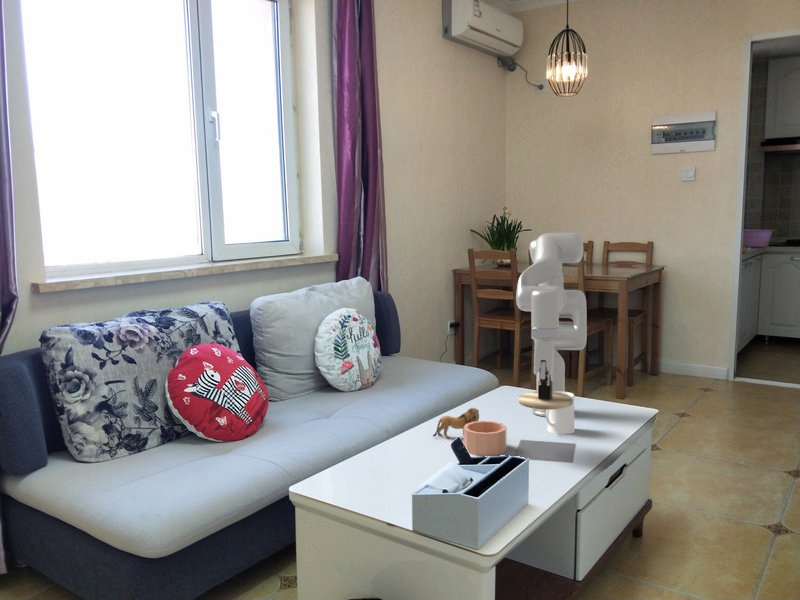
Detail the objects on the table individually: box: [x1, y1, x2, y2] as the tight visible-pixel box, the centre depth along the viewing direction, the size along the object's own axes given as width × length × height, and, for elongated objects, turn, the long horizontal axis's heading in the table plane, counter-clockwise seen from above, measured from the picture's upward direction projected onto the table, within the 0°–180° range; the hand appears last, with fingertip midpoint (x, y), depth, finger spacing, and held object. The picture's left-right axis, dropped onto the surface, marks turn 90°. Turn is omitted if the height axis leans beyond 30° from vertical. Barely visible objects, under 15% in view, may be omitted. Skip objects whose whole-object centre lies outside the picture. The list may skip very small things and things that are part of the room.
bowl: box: [463, 420, 508, 457], centre depth 196 cm, size 12×12×7 cm
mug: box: [545, 391, 576, 435], centre depth 210 cm, size 12×8×12 cm
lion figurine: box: [432, 407, 480, 440], centre depth 209 cm, size 15×5×9 cm, turn 94°
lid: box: [518, 380, 572, 410], centre depth 191 cm, size 15×15×6 cm
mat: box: [513, 439, 576, 464], centre depth 193 cm, size 16×16×1 cm
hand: (545, 395), depth 191 cm, fingers closed on lid, 4 cm apart
